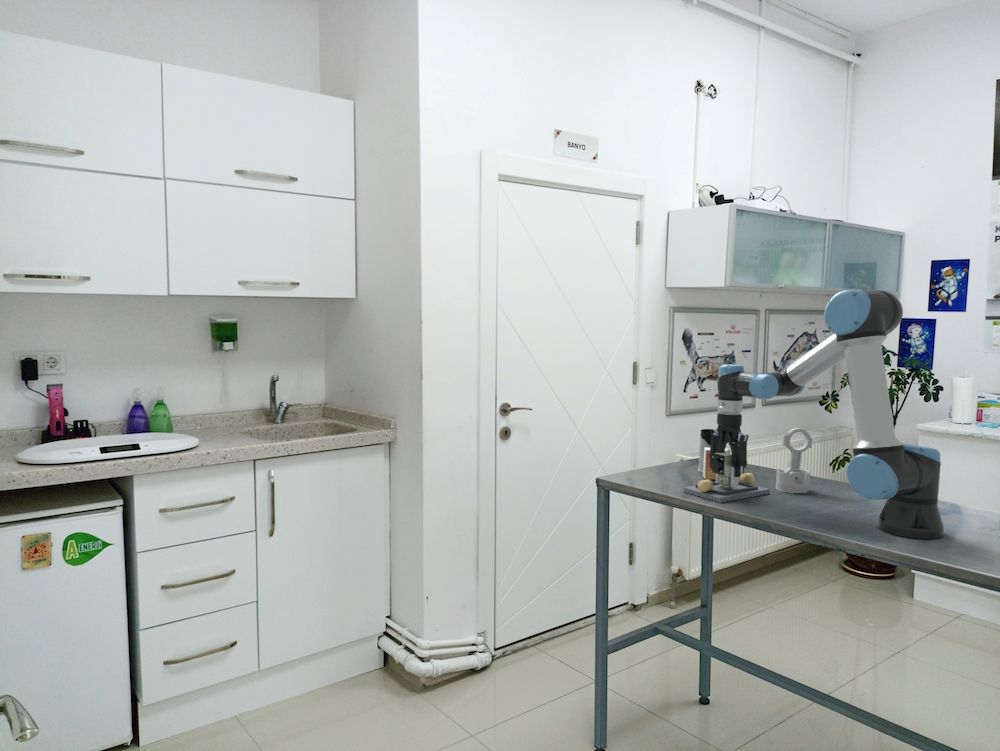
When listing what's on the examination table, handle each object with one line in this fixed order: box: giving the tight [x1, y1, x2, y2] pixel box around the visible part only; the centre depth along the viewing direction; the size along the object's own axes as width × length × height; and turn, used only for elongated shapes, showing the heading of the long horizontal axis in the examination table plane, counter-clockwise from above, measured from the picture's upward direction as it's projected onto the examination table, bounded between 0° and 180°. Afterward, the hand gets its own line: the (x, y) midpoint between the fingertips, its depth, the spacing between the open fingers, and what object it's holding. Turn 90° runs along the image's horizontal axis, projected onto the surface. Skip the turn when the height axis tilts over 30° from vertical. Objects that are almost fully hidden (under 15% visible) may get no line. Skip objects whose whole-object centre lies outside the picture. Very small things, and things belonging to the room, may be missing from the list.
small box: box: [702, 447, 729, 481], centre depth 245 cm, size 8×6×10 cm
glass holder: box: [697, 428, 714, 473], centre depth 256 cm, size 9×14×15 cm, turn 93°
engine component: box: [775, 427, 813, 494], centre depth 229 cm, size 11×20×10 cm
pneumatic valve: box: [710, 449, 748, 488], centre depth 224 cm, size 6×12×12 cm, turn 115°
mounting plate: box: [683, 472, 771, 504], centre depth 224 cm, size 23×15×5 cm, turn 121°
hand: (726, 484), depth 224 cm, fingers closed on pneumatic valve, 5 cm apart
